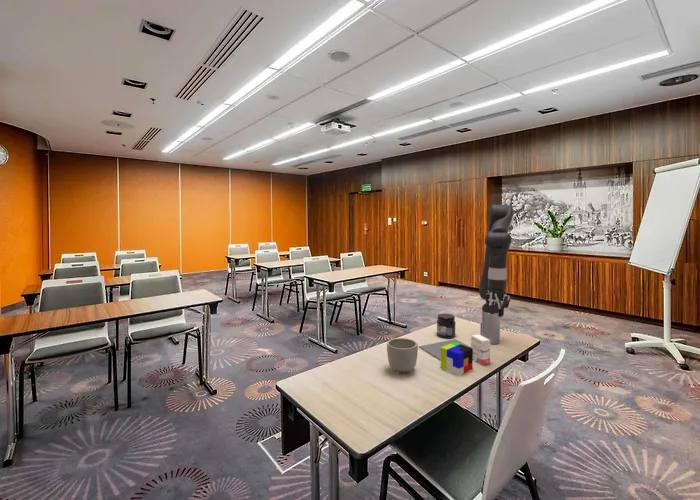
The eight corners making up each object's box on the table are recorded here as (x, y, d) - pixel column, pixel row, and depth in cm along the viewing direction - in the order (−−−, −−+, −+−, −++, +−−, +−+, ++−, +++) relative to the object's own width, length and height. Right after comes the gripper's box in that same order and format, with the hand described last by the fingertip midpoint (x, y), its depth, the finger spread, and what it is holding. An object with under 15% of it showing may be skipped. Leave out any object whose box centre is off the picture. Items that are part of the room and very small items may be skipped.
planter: (381, 367, 160) (381, 340, 159) (406, 361, 166) (406, 336, 165) (397, 380, 148) (397, 351, 146) (424, 373, 153) (424, 345, 152)
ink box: (490, 364, 162) (491, 339, 160) (481, 365, 160) (482, 341, 159) (478, 356, 170) (479, 333, 169) (470, 358, 168) (470, 334, 167)
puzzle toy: (458, 376, 151) (459, 354, 150) (440, 368, 159) (440, 347, 158) (472, 369, 156) (472, 348, 155) (454, 362, 165) (454, 342, 163)
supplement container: (451, 332, 205) (451, 312, 204) (458, 338, 195) (458, 318, 194) (434, 333, 205) (434, 313, 203) (440, 339, 194) (440, 318, 193)
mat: (418, 347, 184) (418, 346, 183) (455, 340, 192) (455, 339, 192) (443, 362, 164) (443, 361, 164) (482, 353, 173) (482, 352, 173)
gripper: (478, 275, 157) (478, 312, 159) (503, 281, 144) (502, 320, 146) (491, 274, 160) (490, 310, 162) (516, 279, 147) (515, 318, 148)
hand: (496, 315), depth 154 cm, fingers open, 4 cm apart
